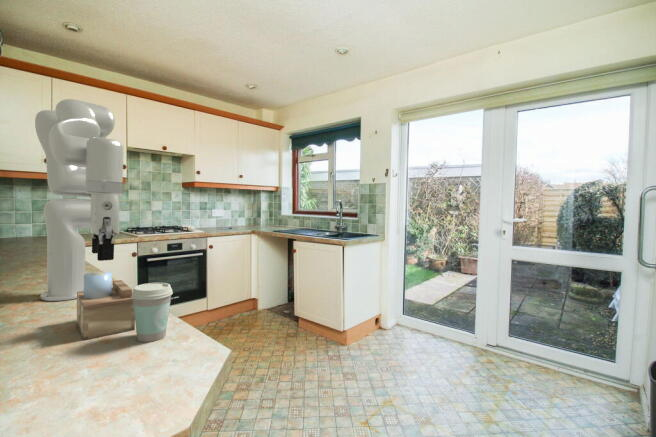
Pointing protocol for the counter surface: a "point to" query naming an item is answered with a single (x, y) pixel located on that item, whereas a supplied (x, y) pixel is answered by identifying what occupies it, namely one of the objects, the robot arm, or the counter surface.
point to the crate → (105, 320)
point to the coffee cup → (151, 310)
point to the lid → (119, 296)
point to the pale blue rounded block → (97, 285)
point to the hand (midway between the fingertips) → (102, 256)
